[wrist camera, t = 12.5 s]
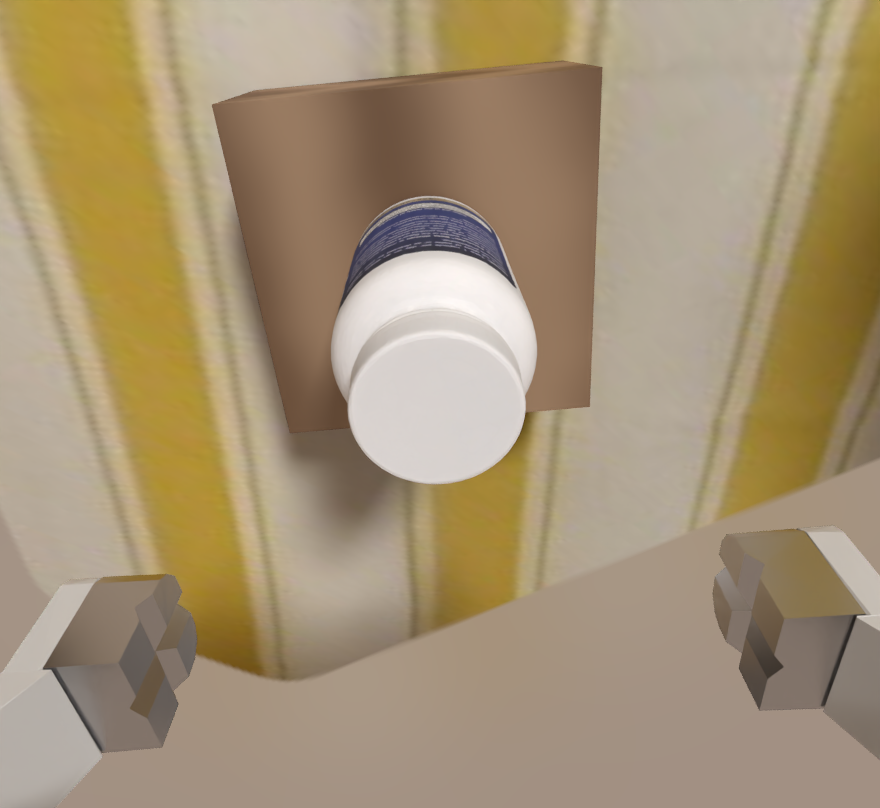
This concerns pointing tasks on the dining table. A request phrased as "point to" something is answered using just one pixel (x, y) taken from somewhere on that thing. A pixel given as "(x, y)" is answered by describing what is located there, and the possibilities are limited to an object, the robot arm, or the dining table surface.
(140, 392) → the dining table surface
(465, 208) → the pill bottle
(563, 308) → the walnut riser
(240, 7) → the dining table surface
